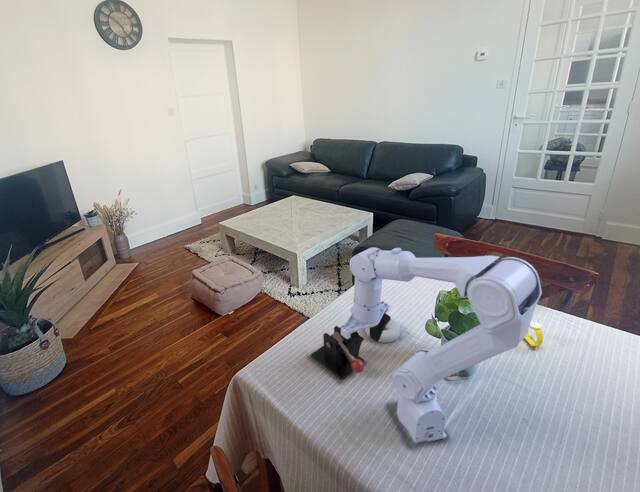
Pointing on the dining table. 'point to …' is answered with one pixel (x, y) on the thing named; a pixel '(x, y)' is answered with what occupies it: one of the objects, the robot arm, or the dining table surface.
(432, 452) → the dining table surface
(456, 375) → the blueberries
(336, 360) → the bracket
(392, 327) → the donut
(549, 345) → the dining table surface
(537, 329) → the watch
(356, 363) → the lever
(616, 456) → the dining table surface
